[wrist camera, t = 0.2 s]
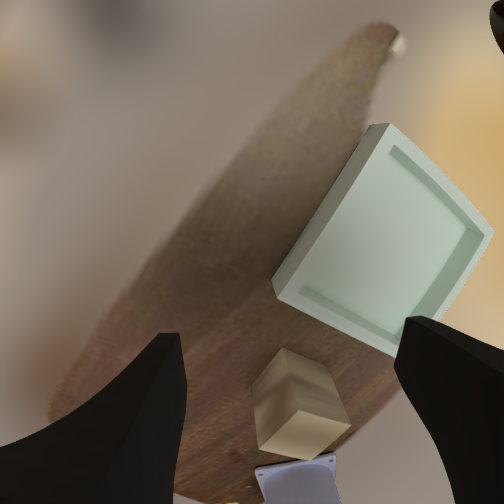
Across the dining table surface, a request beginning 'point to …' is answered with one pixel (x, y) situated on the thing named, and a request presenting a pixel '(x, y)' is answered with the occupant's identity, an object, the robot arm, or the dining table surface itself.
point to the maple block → (297, 407)
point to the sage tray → (384, 244)
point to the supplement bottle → (498, 22)
